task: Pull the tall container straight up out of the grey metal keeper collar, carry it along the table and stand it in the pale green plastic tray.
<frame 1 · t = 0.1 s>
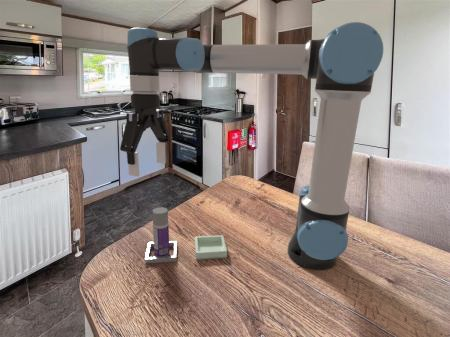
hand: (148, 168, 82), 28 cm above the table, fingers open, 13 cm apart
keeper collar: (161, 253, 89), on the table
container: (161, 254, 89), resting in keeper collar
tray: (210, 250, 92), on the table
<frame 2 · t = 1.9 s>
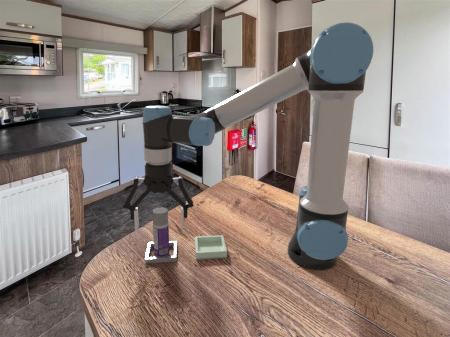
hand: (159, 227, 87), 9 cm above the table, fingers open, 13 cm apart
nothing on the table moved.
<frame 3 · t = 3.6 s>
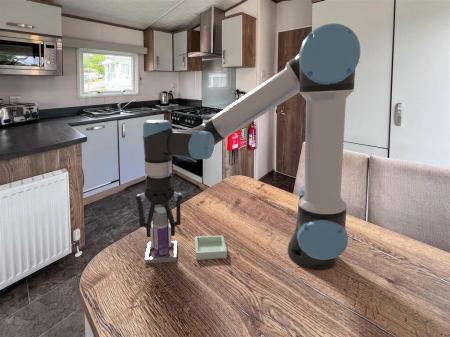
hand: (161, 244, 88), 3 cm above the table, fingers closed on container, 5 cm apart
container: (161, 254, 89), resting in keeper collar, touching gripper
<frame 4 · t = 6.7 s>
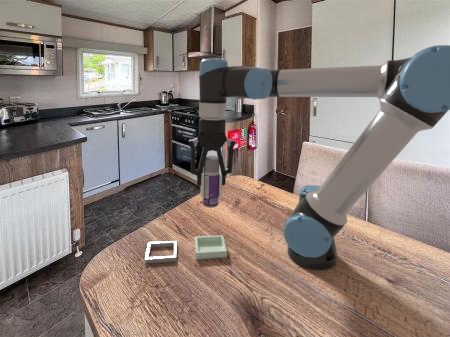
hand: (210, 194, 86), 19 cm above the table, fingers closed on container, 5 cm apart
container: (210, 205, 87), point 16 cm above the table, touching gripper
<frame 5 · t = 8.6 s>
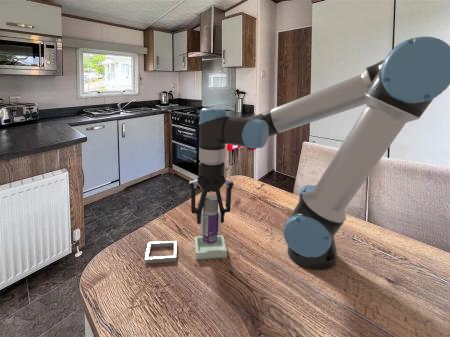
hand: (210, 231, 90), 7 cm above the table, fingers closed on container, 5 cm apart
container: (209, 241, 91), point 3 cm above the table, touching gripper
when the fingers open (5 cm above the table, at t = 9.9 s): container stays where it is, resting on tray.
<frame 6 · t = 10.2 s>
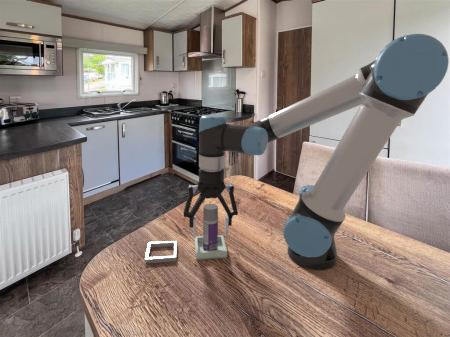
hand: (210, 235, 90), 6 cm above the table, fingers open, 9 cm apart
container: (210, 249, 92), resting on tray
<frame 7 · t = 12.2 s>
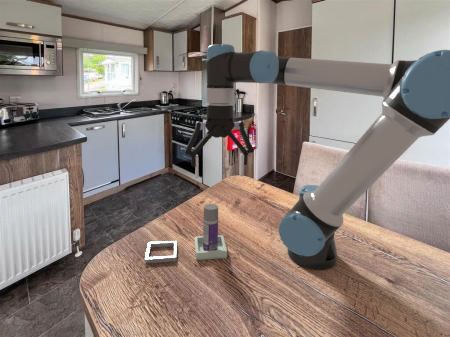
hand: (219, 176, 86), 25 cm above the table, fingers open, 13 cm apart
nothing on the table moved.
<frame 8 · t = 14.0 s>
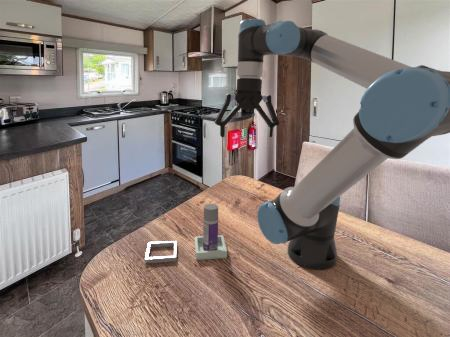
hand: (245, 147, 91), 33 cm above the table, fingers open, 13 cm apart
nothing on the table moved.
at the end: container 0.0 cm off-centre on the tray, point 0.3 cm above the tray's base; container tilted 0°; container touching tray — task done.
